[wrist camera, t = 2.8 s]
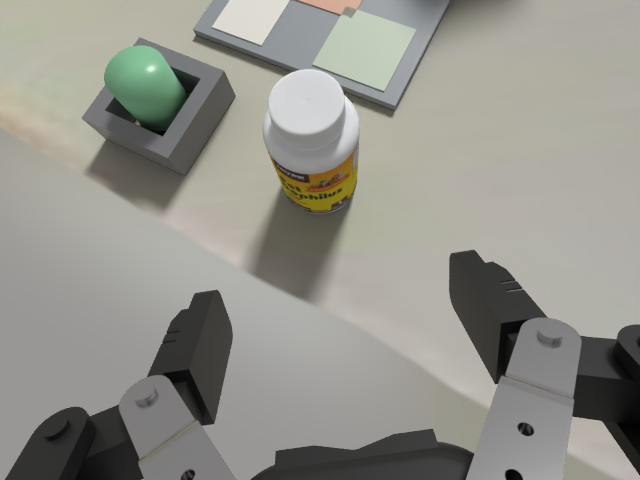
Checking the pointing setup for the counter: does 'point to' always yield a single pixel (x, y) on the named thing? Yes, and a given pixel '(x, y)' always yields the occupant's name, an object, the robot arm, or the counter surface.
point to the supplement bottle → (313, 140)
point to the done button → (145, 86)
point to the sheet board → (332, 38)
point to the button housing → (187, 127)
